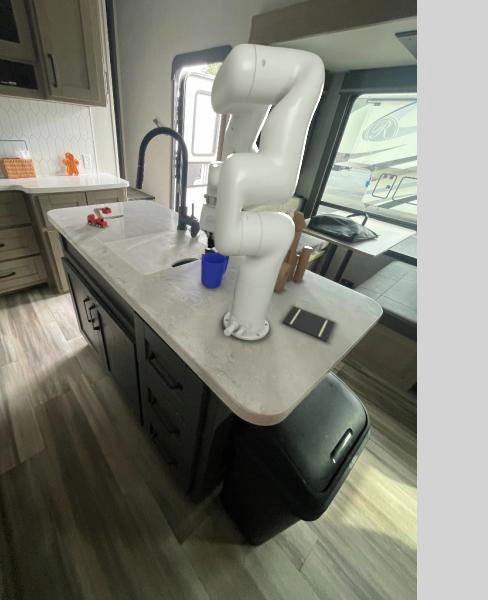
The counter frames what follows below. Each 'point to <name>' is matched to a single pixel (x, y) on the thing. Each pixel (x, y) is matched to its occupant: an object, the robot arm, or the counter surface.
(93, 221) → the toy fire truck
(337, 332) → the counter surface
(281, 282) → the wooden toy
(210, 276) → the mug
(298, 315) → the mat
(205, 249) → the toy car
